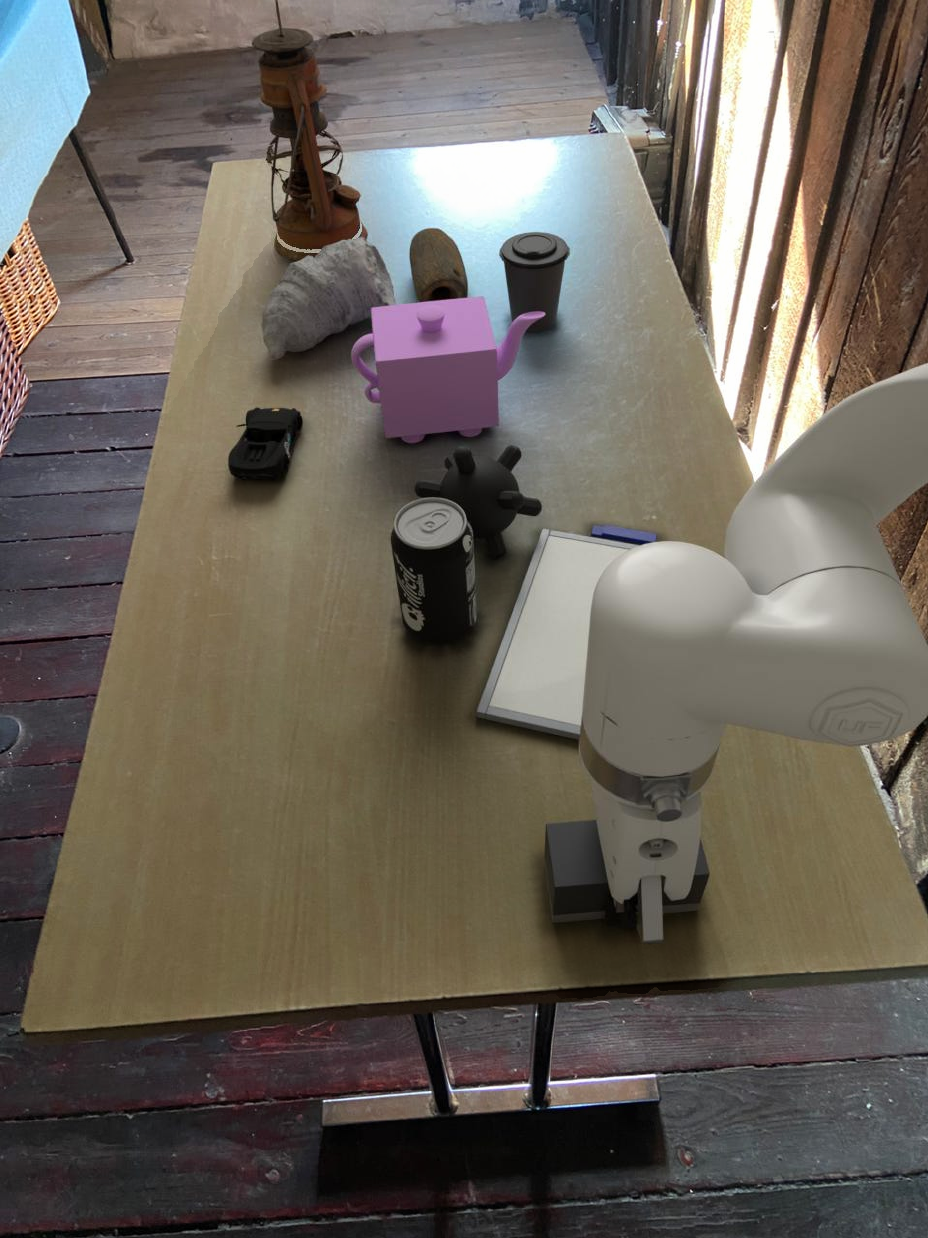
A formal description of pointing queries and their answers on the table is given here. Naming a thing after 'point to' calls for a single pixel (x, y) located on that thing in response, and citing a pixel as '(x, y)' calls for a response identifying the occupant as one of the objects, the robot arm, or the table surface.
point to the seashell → (325, 296)
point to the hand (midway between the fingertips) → (621, 883)
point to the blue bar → (598, 533)
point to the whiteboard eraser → (595, 874)
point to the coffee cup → (534, 275)
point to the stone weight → (437, 267)
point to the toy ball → (483, 493)
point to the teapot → (438, 366)
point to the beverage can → (435, 570)
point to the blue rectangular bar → (629, 534)
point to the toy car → (265, 443)
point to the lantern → (303, 147)
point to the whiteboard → (549, 636)
